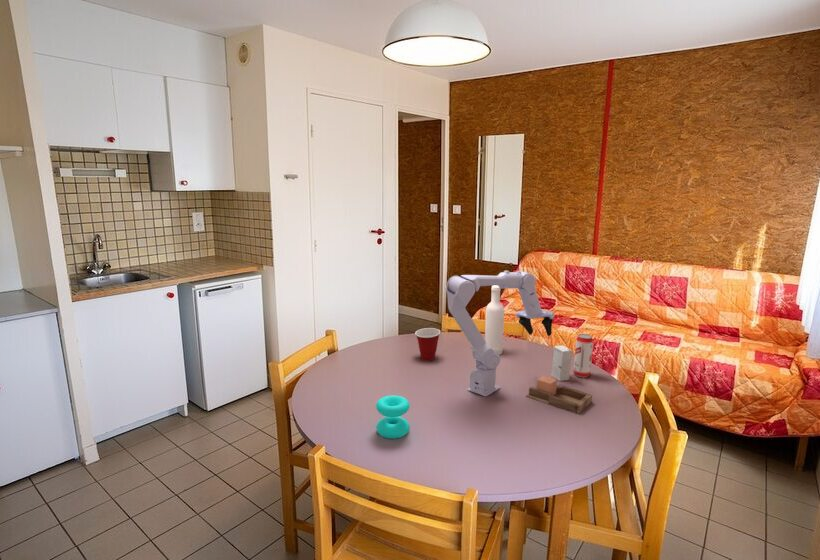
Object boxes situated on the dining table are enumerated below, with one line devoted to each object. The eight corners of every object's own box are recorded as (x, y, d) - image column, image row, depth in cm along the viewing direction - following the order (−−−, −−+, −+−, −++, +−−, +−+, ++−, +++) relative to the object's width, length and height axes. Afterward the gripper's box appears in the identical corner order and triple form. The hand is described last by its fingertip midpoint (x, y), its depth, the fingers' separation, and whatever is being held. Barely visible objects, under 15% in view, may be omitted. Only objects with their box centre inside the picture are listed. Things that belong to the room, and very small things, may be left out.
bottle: (505, 351, 210) (508, 285, 204) (498, 356, 203) (501, 289, 197) (488, 348, 214) (490, 283, 208) (481, 353, 207) (483, 286, 201)
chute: (578, 414, 154) (579, 406, 153) (525, 396, 166) (526, 388, 166) (591, 402, 162) (592, 394, 161) (540, 386, 174) (540, 379, 174)
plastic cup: (410, 355, 204) (410, 329, 202) (432, 352, 209) (433, 326, 206) (421, 364, 195) (421, 336, 192) (444, 360, 199) (445, 333, 197)
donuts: (394, 412, 134) (369, 402, 140) (394, 444, 136) (369, 432, 142) (416, 400, 141) (391, 390, 148) (416, 430, 143) (391, 420, 150)
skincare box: (550, 375, 184) (552, 345, 182) (560, 374, 185) (562, 344, 183) (560, 381, 178) (562, 351, 176) (570, 380, 180) (572, 350, 177)
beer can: (587, 372, 187) (591, 333, 184) (592, 378, 181) (595, 339, 178) (571, 371, 188) (574, 333, 184) (575, 378, 182) (578, 338, 178)
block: (549, 398, 163) (550, 383, 162) (536, 394, 167) (537, 379, 165) (556, 393, 167) (557, 379, 166) (543, 389, 170) (543, 375, 169)
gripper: (553, 296, 169) (562, 328, 174) (518, 296, 179) (527, 327, 184) (545, 306, 165) (555, 339, 169) (509, 306, 175) (519, 337, 179)
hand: (540, 333), depth 176 cm, fingers open, 7 cm apart
